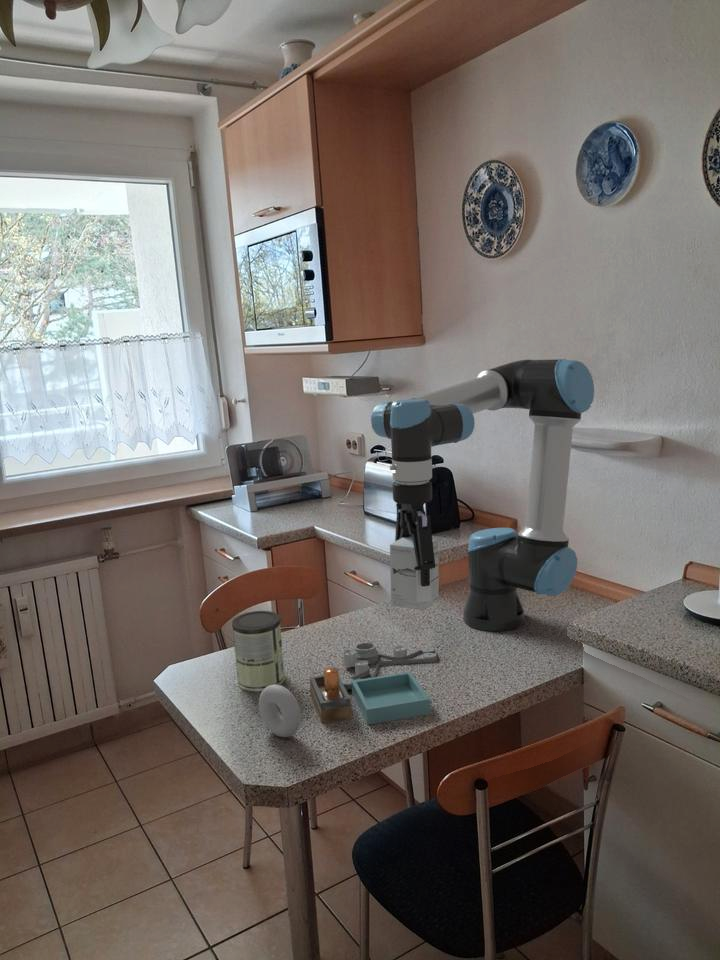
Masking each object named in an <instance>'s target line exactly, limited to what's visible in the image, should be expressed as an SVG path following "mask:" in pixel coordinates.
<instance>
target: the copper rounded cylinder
mask: <svg viewBox="0 0 720 960" xmlns="http://www.w3.org/2000/svg"><path fill="white" fill-rule="evenodd" d="M323 675H324V683H325V691H324V692H322V697H323V700H324V701H326V700H332V699H338V698H343V696H342V694H341V692H340V690H339V677H340V675H339V668H337V667H333V666H331V667H326V668H324V670H323ZM338 675H339V676H338Z"/></svg>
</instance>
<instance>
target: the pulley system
mask: <svg viewBox="0 0 720 960" xmlns="http://www.w3.org/2000/svg"><path fill="white" fill-rule="evenodd" d="M392 651H393V656H392V655H387V654H380V653H379V651H378V650H377V644H376V643H373V642H361V643H357V644H356V645H354V649H348V650H347V649H346V650H345V651H343V652H342V660H343V661H342V664H343V665H344V666H345V667H354V668H355V669H354V671H355V675H352V676H351V677H348V678H343V679H341V681H342V683H343V685H344V687H345V689H346V691H350V690H352V682H351V681H354V680H360V679H363V678H366V677H368V676H369V675H370V673H371V672H370V668H369V665H370V664H373V663H376V662H377V665H376V667H375V669H374V670H373V671H374V672H373V674H372V676H371V678H373V677H376V675H377V672H378V670H379V667H381V666H388V665H391V666H392V665H402V664H403V665H404V664H421V663H422V664H423V663H435V662H436V661H438V656H437V651H436V649H435V647H431V646H427V647H422V648H421V649H420V650H417V651H415V652H413V653H409V654H408V648H407V647H405V646H402V645H398V646H395V647H393V649H392ZM421 653H422V656H423V657H422V658H413V657H414V656H417V655H420V654H421ZM379 657H380V658H383V659H387V660H381V661H379V662H378V659H379Z"/></svg>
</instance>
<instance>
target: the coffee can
mask: <svg viewBox="0 0 720 960" xmlns="http://www.w3.org/2000/svg"><path fill="white" fill-rule="evenodd" d="M281 620H282V619H281V615H280V614H278V613H277V612H274V611H269V610H255V611H249V612H248V611H247V612H245V613H243V614H240V615H237V616H235V617H234V618H233V619H232V621H231V627H232V633H233V643H234V652H235V653H234V655H235V666H236V674H237V677H236V678H237V685H238V687H239V688H240V689H242V690H244V691H247V692H255V693H257V692H262V691H263V690H264V689H265V688H266V687H267V686H270V685H273V684H276V685H281V686H282V684H283V683H284V681H285V680H286V676H285V668H284V667H285V666H284V654H283V643H282V642H283V641H282V630H281V622H282V621H281Z"/></svg>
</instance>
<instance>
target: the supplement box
mask: <svg viewBox="0 0 720 960" xmlns="http://www.w3.org/2000/svg"><path fill="white" fill-rule="evenodd" d="M432 541H433V550H434V558H435V568H431V601H426V602H417V595H416V570H414V568H415V567H416V566H417V560H416V555H415V550H414V544H413V539H412V537H402V538H401V539H399V540H397V541H395V540H394V542H392V543H390V544H389V558H390V559H389V560H390V561H389V562H390V564H389V566H390V567H389V568H390V572H389V573H390V605H391V606H392V607H400V608H405V609H410V610H411V609H412V610H418V611H421V612H425V611H426V610H428V608H430V607H431V606H433V605H434V604H435V603H436V602H437V603H438V601H439V598H440V597H439V595H440V592H439V589H440V587H439V585H440V584H439V580H440V579H439V577H440V576H439V571H440V570H439V539H435V538H432Z"/></svg>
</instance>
